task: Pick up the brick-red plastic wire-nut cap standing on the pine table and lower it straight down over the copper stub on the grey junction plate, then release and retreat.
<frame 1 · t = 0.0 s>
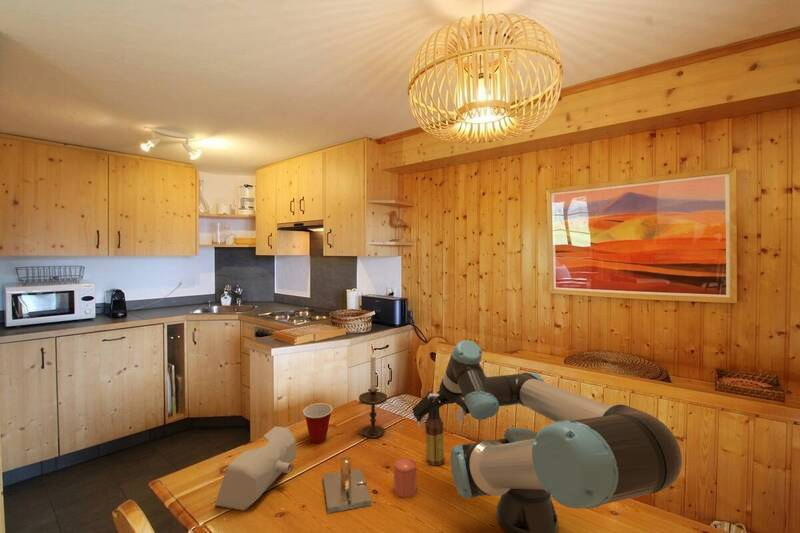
hand: (438, 422, 122), 15 cm above the table, tool tilted 35°, fingers open, 13 cm apart
junction plate: (345, 491, 111), on the table
wire nut: (405, 490, 112), on the table
candlestick: (373, 433, 147), on the table
plastic cup: (318, 440, 141), on the table
tank: (265, 485, 114), on the table
sauce bottle: (434, 462, 127), on the table
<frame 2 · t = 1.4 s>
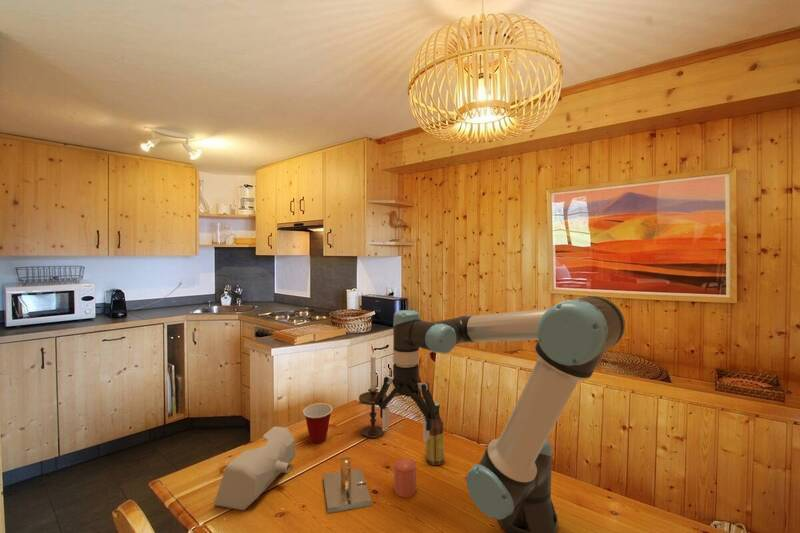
hand: (405, 434, 111), 17 cm above the table, tool pointing down, fingers open, 13 cm apart
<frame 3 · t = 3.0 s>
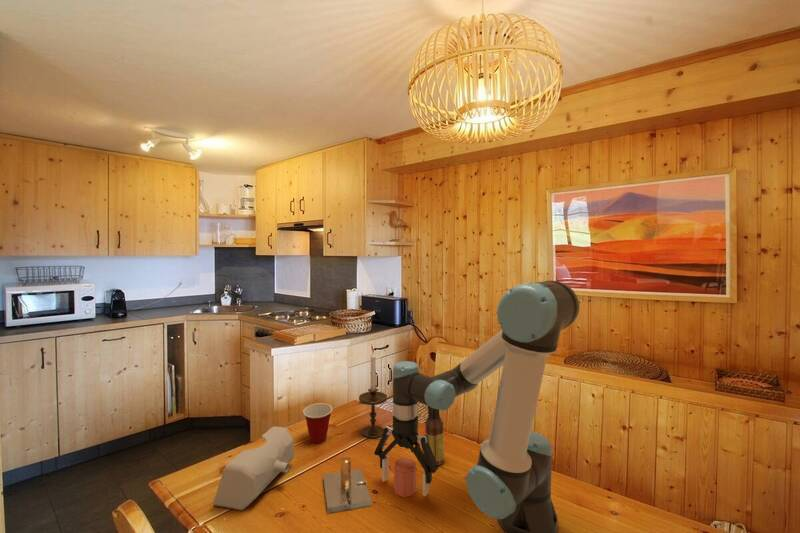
hand: (405, 485, 112), 1 cm above the table, tool pointing down, fingers open, 13 cm apart
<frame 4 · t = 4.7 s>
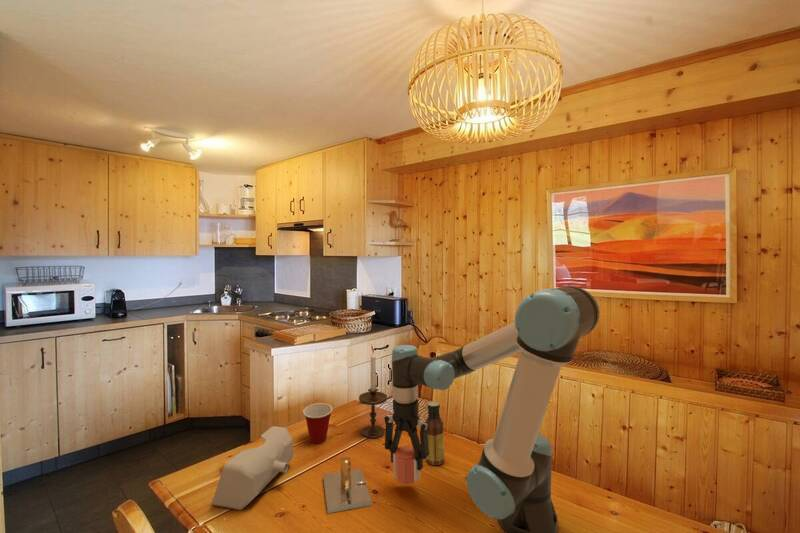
hand: (406, 476, 111), 4 cm above the table, tool pointing down, fingers closed on wire nut, 6 cm apart
wire nut: (406, 477, 111), point 4 cm above the table, touching gripper
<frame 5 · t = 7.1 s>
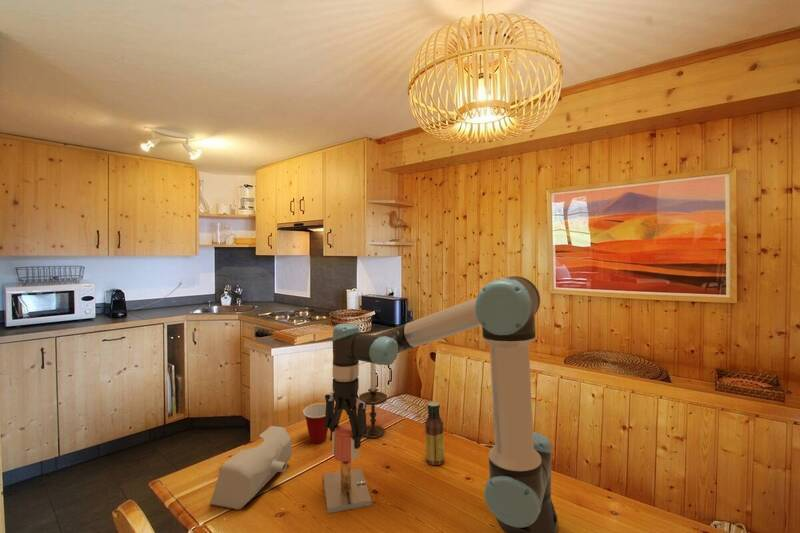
hand: (345, 454, 111), 11 cm above the table, tool pointing down, fingers closed on wire nut, 6 cm apart
wire nut: (345, 455, 111), point 11 cm above the table, touching gripper
when the fingers open (3 cm above the table, at t = 9.4 s): wire nut stays where it is, resting on junction plate.
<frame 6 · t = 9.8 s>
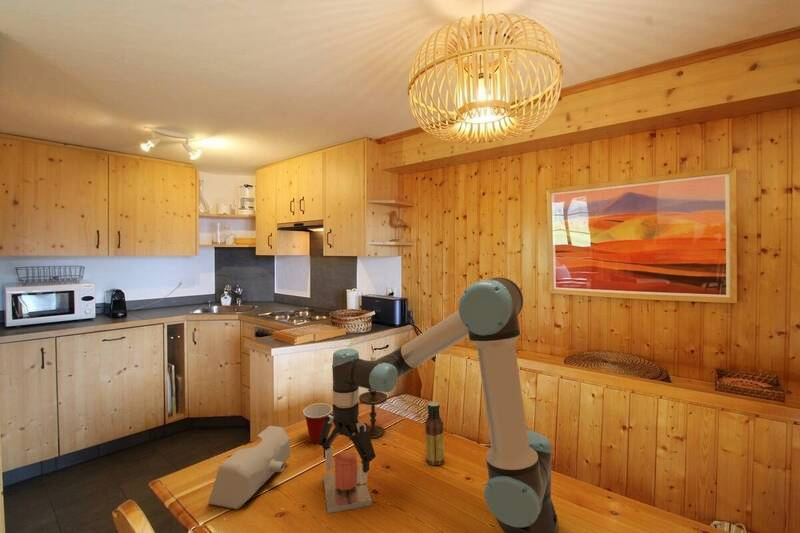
hand: (345, 475, 111), 5 cm above the table, tool pointing down, fingers open, 12 cm apart
wire nut: (346, 483, 111), point 2 cm above the table, touching junction plate
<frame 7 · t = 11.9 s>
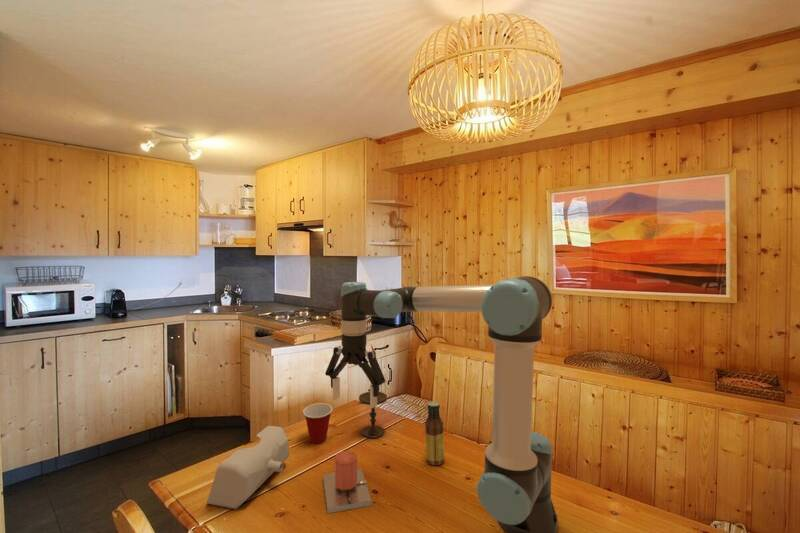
hand: (354, 402, 115), 25 cm above the table, tool pointing down, fingers open, 13 cm apart
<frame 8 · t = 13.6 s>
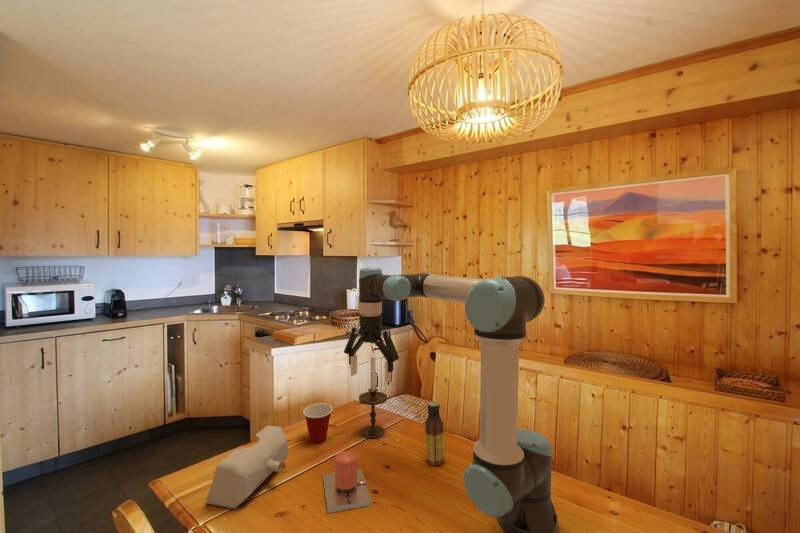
hand: (370, 378, 125), 29 cm above the table, tool pointing down, fingers open, 13 cm apart
at the end: wire nut 0.0 cm off-centre on the junction plate, point 2.5 cm above the junction plate's base; wire nut tilted 0°; the gripper is holding nothing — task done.
